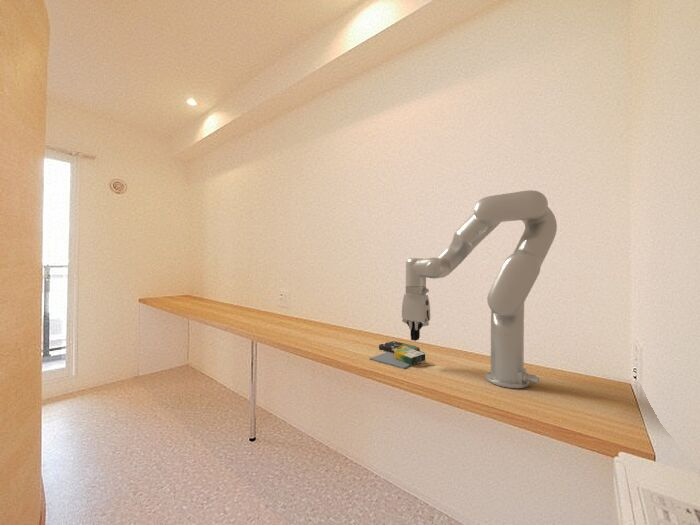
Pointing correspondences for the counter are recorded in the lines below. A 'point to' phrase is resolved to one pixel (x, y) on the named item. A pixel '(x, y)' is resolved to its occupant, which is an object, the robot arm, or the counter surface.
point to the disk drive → (395, 346)
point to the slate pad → (390, 360)
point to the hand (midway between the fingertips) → (415, 339)
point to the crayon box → (408, 355)
